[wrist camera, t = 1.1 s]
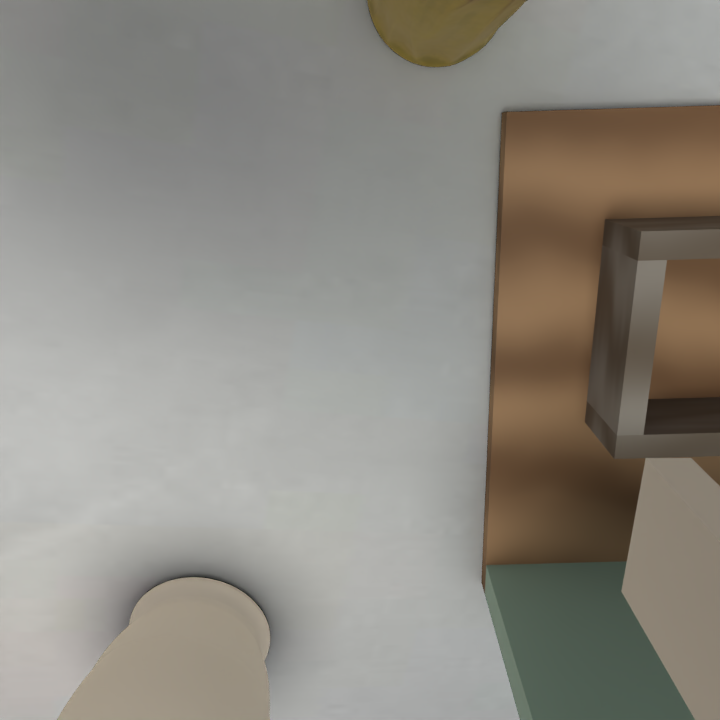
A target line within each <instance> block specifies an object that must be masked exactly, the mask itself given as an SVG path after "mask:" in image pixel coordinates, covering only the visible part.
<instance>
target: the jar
mask: <svg viewBox="0 0 720 720" xmlns="http://www.w3.org/2000/svg"><path fill="white" fill-rule="evenodd" d="M269 647H270V630H269V625H268V622H267V620H266V618H265V616H264V614H263V612H262V610H261V609H260V608H259V606H258V605H257V604H256V603H255V602H254V601H253V600H252V599H251V598H250V597H249V596H248V595H246V594H245V593H244V592H242V591H240V590H239V589H237V588H235V587H233V586H231V585H229V584H226V583H224V582H221V581H218V580H213V579H209V578H200V577H187V578H179V579H174V580H170V581H167V582H164V583H162V584H160V585H158V586H156V587H154V588H153V589H151V590H150V591H148V592H147V593H146V594H145V595H144V596H143V597H142V598H141V599H140V600H139V601H138V603H137V604H136V606H135V607H134V609H133V612H132V614H131V617H130V622H129V626H128V627H127V628H126V629H125V630H123V631H122V632H121V633H120V634H119V635H118V636H117V637H116V638H115V639H114V641H113V642H112V643H111V644H110V645H109V646H108V648H107V649H106V650H105V652H104V653H103V654H102V656H101V657H100V658H99V660H98V661H97V663H96V664H95V666H94V668H93V669H92V670H91V672H90V673H89V674H88V675H87V676H86V678H85V679H84V680H83V681H82V683H81V684H80V685H79V687H78V688H77V689H76V691H75V692H74V694H73V695H72V697H71V698H70V699H69V701H68V703H67V704H66V706H65V707H64V709H63V710H62V712H61V714H60V715H59V717H58V719H57V720H270V714H269V711H270V693H269V681H268V674H267V669H266V665H265V662H264V661H265V659H266V657H267V654H268V651H269Z"/></svg>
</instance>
